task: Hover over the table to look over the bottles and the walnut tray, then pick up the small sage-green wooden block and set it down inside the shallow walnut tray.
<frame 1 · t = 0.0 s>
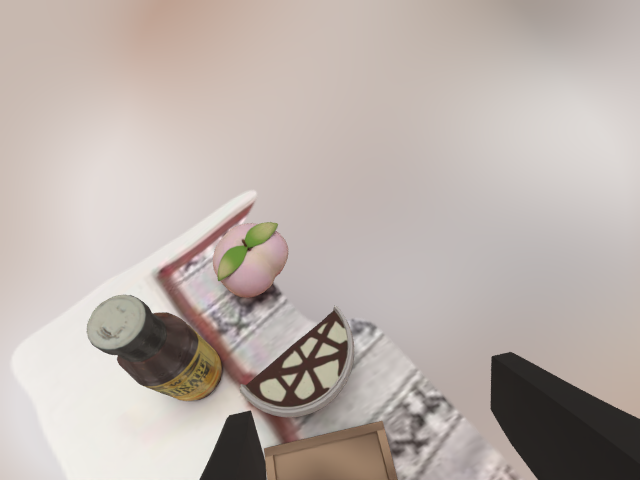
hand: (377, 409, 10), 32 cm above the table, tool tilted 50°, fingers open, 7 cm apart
food container: (314, 384, 41), on the table
sauce bottle: (200, 372, 42), on the table
decorative fruit: (256, 275, 48), on the table
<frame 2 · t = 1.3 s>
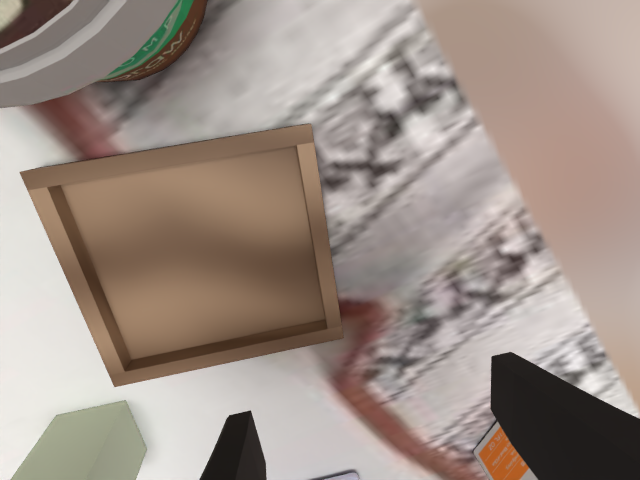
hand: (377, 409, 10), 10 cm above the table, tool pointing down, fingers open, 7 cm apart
skincare box: (511, 427, 27), on the table
walnut tray: (209, 255, 19), on the table
food container: (145, 22, 15), on the table
sage block: (103, 432, 22), on the table
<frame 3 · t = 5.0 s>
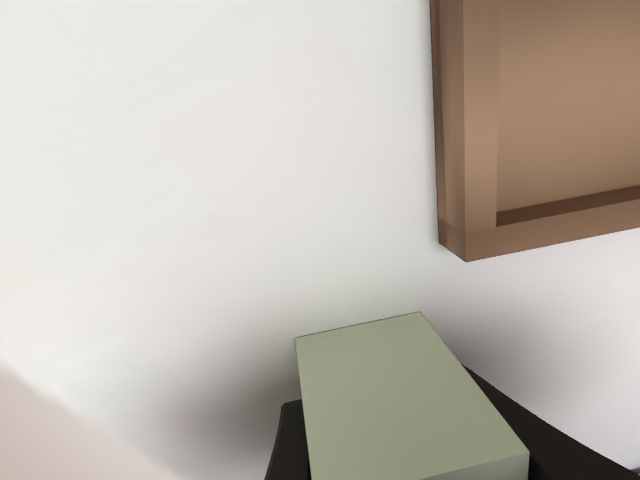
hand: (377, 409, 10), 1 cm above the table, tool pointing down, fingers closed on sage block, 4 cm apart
sage block: (365, 376, 12), on the table, touching gripper
when the fingers open (3 cm above the table, at t = 9.4 s): sage block drops 1 cm, resting on walnut tray.
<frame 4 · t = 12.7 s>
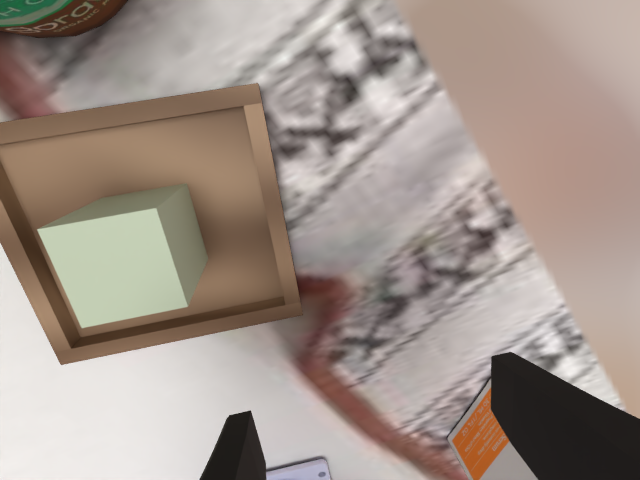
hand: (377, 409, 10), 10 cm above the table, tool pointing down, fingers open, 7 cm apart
skincare box: (486, 413, 26), on the table
walnut tray: (159, 227, 18), on the table
sage block: (157, 229, 18), resting on walnut tray
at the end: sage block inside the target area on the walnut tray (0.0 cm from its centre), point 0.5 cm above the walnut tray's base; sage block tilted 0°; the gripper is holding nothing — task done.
